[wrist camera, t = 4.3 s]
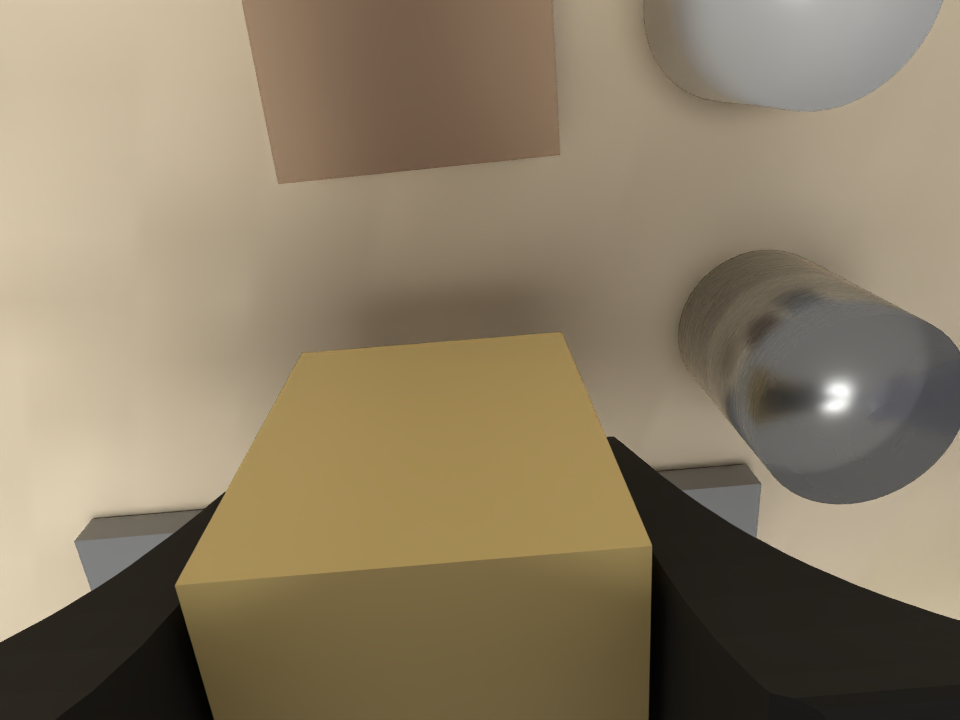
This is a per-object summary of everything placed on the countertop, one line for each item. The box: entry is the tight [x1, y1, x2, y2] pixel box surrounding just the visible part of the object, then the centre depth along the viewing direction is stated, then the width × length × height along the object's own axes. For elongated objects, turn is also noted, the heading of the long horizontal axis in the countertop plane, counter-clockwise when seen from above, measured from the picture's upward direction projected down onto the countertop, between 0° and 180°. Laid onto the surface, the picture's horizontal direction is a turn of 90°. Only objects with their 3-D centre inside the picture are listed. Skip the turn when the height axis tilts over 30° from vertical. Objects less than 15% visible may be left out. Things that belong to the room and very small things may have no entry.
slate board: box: [74, 464, 761, 591], centre depth 21 cm, size 18×12×1 cm, turn 94°
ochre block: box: [175, 332, 652, 720], centre depth 10 cm, size 4×4×6 cm
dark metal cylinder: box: [678, 250, 960, 504], centre depth 16 cm, size 4×4×5 cm
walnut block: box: [242, 0, 560, 184], centre depth 13 cm, size 5×5×4 cm
